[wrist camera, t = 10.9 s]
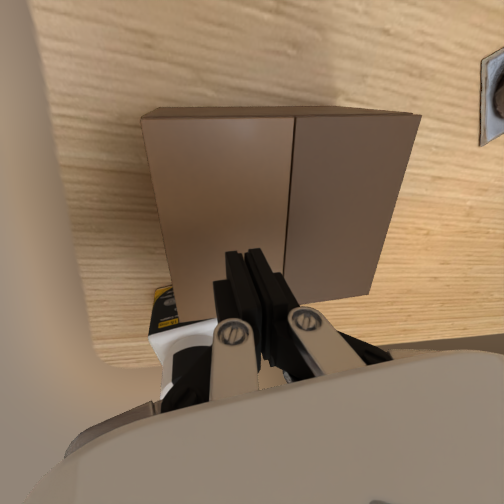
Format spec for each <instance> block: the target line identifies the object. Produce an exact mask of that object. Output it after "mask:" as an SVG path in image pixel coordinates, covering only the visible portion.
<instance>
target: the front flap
mask: <svg viewBox="0 0 504 504" xmlns="http://www.w3.org/2000/svg"><path fill="white" fill-rule="evenodd" d="M140 123H141V129H142V134H143V139H144V144H145V149H146V154H147V159H148V164H149V169H150V174H151V179H152V185H153V190H154V195H155V200H156V205H157V210H158V215H159V220H160V225H161V230H162V235H163V240H164V246H165V251H166V256H167V261H168V266H169V271H170V276H171V281H172V286H173V291H174V296H175V302H176V307H177V312H178V317H179V322H180V323H181V322H188V321H196V320H203V319H211V318H217V315H216V309H215V301H214V292H213V281H217V280H224V279H226V264H225V252H228V251H237V252H238V253H242V255H243V258H244V253H245V252H248V249H253V248H261V250H262V252H263V254H264V256H265V258H266V260H267V262H268V264H269V265H270V267H271V269H272V271H273V273H275V272H281V274H282V273H283V260H284V246H285V233H286V220H287V207H288V194H289V180H290V167H291V154H292V141H293V127H294V117H223V118H148V119H140Z"/></svg>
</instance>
